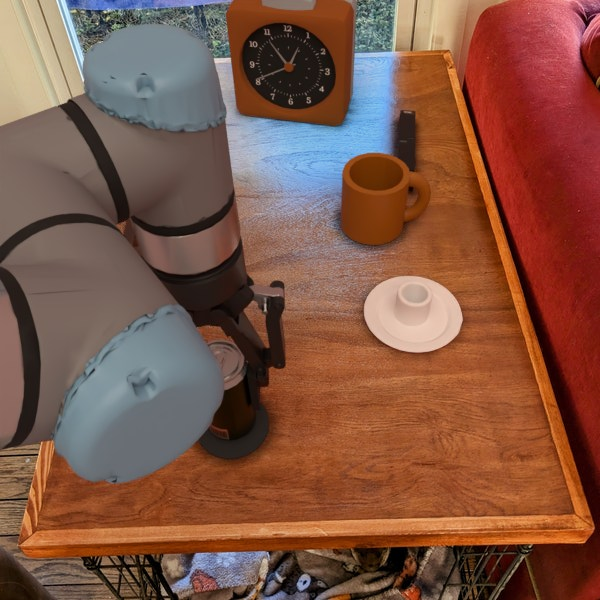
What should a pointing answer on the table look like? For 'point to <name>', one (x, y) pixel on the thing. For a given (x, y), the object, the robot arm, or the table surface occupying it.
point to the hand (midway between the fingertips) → (227, 399)
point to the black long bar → (407, 140)
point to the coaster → (239, 446)
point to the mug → (379, 197)
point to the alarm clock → (293, 58)
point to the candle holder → (413, 314)
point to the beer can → (232, 394)
